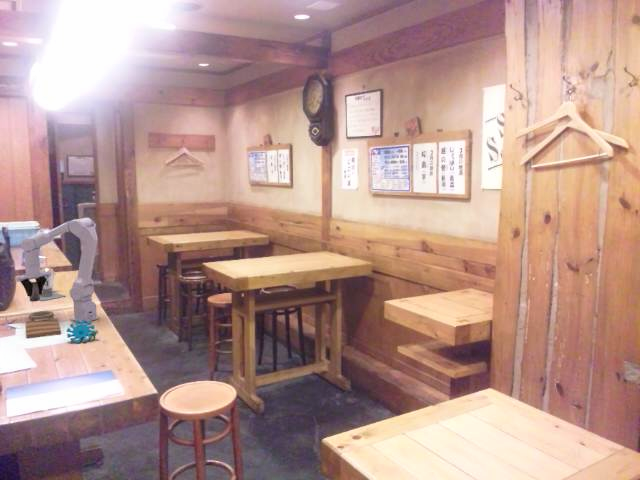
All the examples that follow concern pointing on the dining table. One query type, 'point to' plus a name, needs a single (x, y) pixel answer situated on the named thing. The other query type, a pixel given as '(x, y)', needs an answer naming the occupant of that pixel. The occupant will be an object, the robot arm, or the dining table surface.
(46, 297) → the shower valve
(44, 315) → the brown piece
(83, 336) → the gear
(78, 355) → the dining table surface
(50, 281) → the cup with straw
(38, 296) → the hinge pin
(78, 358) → the dining table surface
